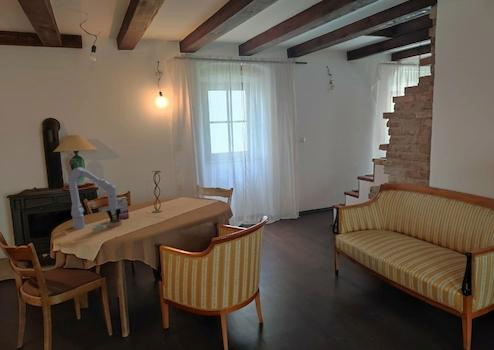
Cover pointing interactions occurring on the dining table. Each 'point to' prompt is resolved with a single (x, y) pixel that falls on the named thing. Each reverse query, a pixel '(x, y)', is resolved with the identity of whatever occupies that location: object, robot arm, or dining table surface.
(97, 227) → the checker
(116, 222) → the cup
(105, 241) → the dining table surface
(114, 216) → the cell
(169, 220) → the dining table surface
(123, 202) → the candy bar box
